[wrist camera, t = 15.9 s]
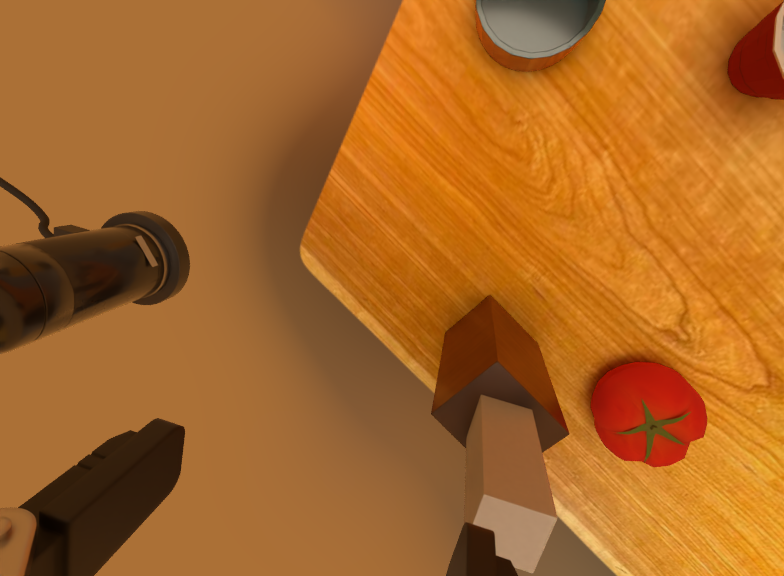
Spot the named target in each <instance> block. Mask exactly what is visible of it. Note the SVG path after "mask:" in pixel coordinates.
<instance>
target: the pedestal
mask: <svg viewBox="0 0 784 576" xmlns="http://www.w3.org/2000/svg"><path fill="white" fill-rule="evenodd" d="M481 395H485V396H488V397H491V398H495V399H498V400H501V401H505V402H508V403H511V404H514V405H518V406H521V407H524V408H528V409H531V410H532V411H533V416H534V420H535V424H536V428H537V433H538V437H539V441H540V446H541V450H542V453H543V452H544V451H546V450H547V449H548V448H550V447H551V446H553V445H554V444H556V443H557V442H559V441H560V440H562V439H563V438H565V437H566V436H567V435H569V431H568V428H567V426H566V423H565V420H564V417H563V414H562V411H561V408H560V406H559V403H558V400H557V397H556V394H555V391H554V388H553V385H552V383H551V380H550V377H549V374H548V371H547V368H546V365H545V363H544V360H543V357H542V354H541V351H540V348H539V345H538V343H537V342H536V341H535V340H534V339H533V338H532V337H531V336H530V335H529V334H528V333H527V332H526V331H525V330H524V329H523V328H522V327H521V326H520V325H519V324H518V323H517V322H516V321H515V320H514V319H513V318H512V317H511V316H510V314H509V313H508V312H507V311H506V310H505V309H504V308H503V307H502V306H501V305H500V304H499V303H498V302H497V301H496V300H495V299H494V298H493V297H492V296H491V295H489V296H488V297H486V298H485V299H484V300H483V301H482V302H481V303H479V304H478V305H477V306H476V307H475V308H474V309H472V310H471V311H470V312H469V313H468V314H467V315H466V316H464V317H463V318H462V319H461V320H460V321H459V322H457V323H456V324H455V325H454V326H453V327H452V328H450V329H449V330H448V331H447V332H446V333H445V337H444V343H443V349H442V355H441V360H440V366H439V372H438V377H437V383H436V389H435V395H434V401H433V406H432V413H431V414H432V415H433V416H434V417H435V418H436V419H437V420H438V421H439V422H440V423H441V424H442V425H443V426H444V427H445V428H446V429H447V430H448V431H449V432H450V433H451V434H452V435H453V436H454V437H455V438H456V439H457V440H458V441H459V442H460V443H461V444H462V445H463V446H464V447H465V448H466V439H467V434H468V431H469V428H470V425H471V422H472V419H473V416H474V414H475V411H476V408H477V405H478V402H479V399H480V396H481Z"/></svg>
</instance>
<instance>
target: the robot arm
mask: <svg viewBox="0 0 784 576" xmlns="http://www.w3.org/2000/svg"><path fill="white" fill-rule="evenodd" d="M0 186H1V187H2V188H4V189H5V190H7V191H8V192H10V193H11V194H12V195H14V196H15V197H17V198H18V199H19V200H21V201H22V202H23V203H25V204H26V205H27V206H28V207H29V208H30V209H31V210H32V211H33V212H34V213H35V214H36V215H37V216H38V218H39V219H40V223H39V228H38V229H39V231H40V233H41V234H42V235H43V236H44V237H45V239H40V240H34V241H28V242H23V243H17V244H12V245H6V246H0V354H3V353H6V352H9V351H12V350H15V349H17V348H20V347H22V346H25V345H27V344H30V343H32V342H35V341H37V340H40V339H42V338H45V337H47V336H49V335H52V334H55V333H57V332H59V331H61V330H64V329H66V328H69V327H71V326H74V325H76V324H79V323H81V322H84V321H86V320H89V319H91V318H93V317H96V316H99V315H101V314H104V313H106V312H109V311H111V310H113V309H116V308H118V307H121V306H123V305H126V304H128V303H131V302H133V301H136V300H138V299H141V298H145V297H148V296H150V295H153V294H155V293H157V292H159V291H160V290H161V289H162V288H163V287H164V286H165V284H166V283H167V281H168V278H169V275H170V259H169V255H168V252H167V250H166V248H165V246H164V244H163V242H162V241H161V240H160V238H159V237H158V236H157V235H156V234H155V233H154V232H152V231H151V230H149V229H148V228H146V227H144V226H142V225H139V224H133V223H127V224H121V225H116V226H113V227H109V228H103V229H96V230H91V231H90V230H87V229H84V228H80V227H76V226H73V225H67V226H60V227H55V228H54V234H52V233H51V232H50V231H49V229H48V225H49V218H48V216H47V215H46V214H45V212H44V211H43V210H42V209H41V208H40V207H39V206H38V205H37V204H36V203H34V201H32V200H31V199H30V198H29V197H27V196H26V195H25V194H24V193H22V192H21V191H19V190H18V189H17V188H15V187H14V186H12V185H11V184H9V183H8V182H6V181H5V180H3V179H2V178H0ZM184 437H185V429H184V427H183V426H180V425H177V424H174V423H171V422H168V421H165V420H162V419H159V418H157V419H154V420H153V421H151V422H150V423H149V424H147V425H146V426H145V427H144V428H142V429H141V430H140V431H139V432H134V431H131V430H130V431H128V432H126V433H123V434H121V435H118V436H115V437H113V438H111V439H109V440H107V441H106V442H105V443H103V444H102V445H101V446H99V447H98V448H97V449H95V450H94V451H93V452H92V454H91V455H88V456H86V457H85V458H84V459H82V460H81V461H79V463H78V464H77V465H76V466H73V467H72V468H70V469H69V470H68V471H66V472H65V473H64V474H62V475H61V476H60V477H58V478H57V479H56V480H54V481H53V482H52V483H50V484H49V485H48V486H46V487H45V488H44V489H42V490H41V491H40V492H39V493H37V494H36V495H35V496H33V497H32V498H31V499H29V500H28V501H27V502H25V503H24V504H22V505H21V506H20V507H18V508H1V509H0V576H94V575H95V574H96V573H97V572H98V571H99V570H100V568H101V567H102V566H103V565H104V564H105V563H106V562H107V561H108V560H109V559H110V558H111V556H113V554H114V553H115V552H116V551H117V550H118V549H119V548H120V547H121V546H122V545H123V543H125V541H126V540H127V539H128V538H129V537H130V536H131V535H132V534H133V533H134V532H135V531H136V530H137V528H138V527H139V526H140V525H141V524H142V523H143V522H144V521H145V520H146V519H147V518H148V517H149V515H150V514H151V513H152V512H153V511H154V510H155V509H156V508H157V507H158V506H159V504H161V502H162V501H163V500H164V499H165V498H166V497H167V496H168V495H169V494H170V492H171V491H172V490H173V488H174V486H175V485H176V483H177V480H178V478H179V475H180V471H181V464H182V455H183V445H184ZM446 576H518V575H517V573H516V571H515V568H514V566H513V564H512V562H511V560H508V559H505V558H502V557H499V556H496V547H495V534H494V531H492V530H489V529H486V528H483V527H480V526H477V525H474V524H471V523H468V522H465V523H464V525H463V528H462V531H461V533H460V536H459V539H458V542H457V544H456V547H455V550H454V552H453V555H452V558H451V561H450V564H449V567H448V571H447V574H446Z"/></svg>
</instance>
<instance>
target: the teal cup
mask: <svg viewBox="0 0 784 576" xmlns="http://www.w3.org/2000/svg"><path fill="white" fill-rule="evenodd" d="M605 1H606V0H475V11H476V28H477V32H478V35H479V39H480V41H481V43H482V45H483V47H484V49H485V50H486V52H487V53H488V54H489V55H490V56H491V57H492V58H493V59H494V60H495V61H496V62H497V63H499V64H500V65H502V66H504V67H506V68H509V69H512V70H515V71H522V72H530V71H537V70H541V69H544V68H547V67H549V66H552V65H553V64H555V63H557V62H559V61H560V60H562V59H563V58H564V57H565V56H566V55H568V54H569V53H570V52H571V51H572V50H573V49H574V48H575V47H576V46H577V45H578V44H579V43H580V41H581V40H582V39H583V38H584V37H585V36H586V35H587V33H588V32H589V31H590V29H591V28H592V26H593V25H594V23H595V22H596V20H597V19H598V17H599V16H600V14H601V12H602V10H603V7H604V4H605Z"/></svg>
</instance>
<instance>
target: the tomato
mask: <svg viewBox="0 0 784 576" xmlns="http://www.w3.org/2000/svg"><path fill="white" fill-rule="evenodd" d="M591 410H592V413H593V416H594V425H595V428H596V431H597V433H598V435H599V437H600V439H601V441H602V442H603V444H604V445H605V446H606V448H608V449H609V450H610V451H611V452H612V453H614V454H615V455H616V456H617V457H619V458H621V459H622V460H624V461H642V462H644V463H646V464H648V465H650V466H652V467H661V466H668V465H672V464H674V463H676V462H678V461H680V460H682V459H684V458H685V455H686V452H687V449H688V447H689V444H690V442H691V441H694V440H697V439H700V438H702V437H704V433H705V430H706V426H707V414H706V409H705V404H704V401H703V400H702V398H701V396H700V395H699V394H698V393H697V392H696V391H695V390H694V389H693V387H692V386H691V385H690V384H689V383H688V382H687V381H686V380H685V379H684V378H683V377H682V376H681V375H680V374H679V373H678V372H677V371H675V370H673V369H671V368H669V367H666V366H663V365H661V364H658V363H650V362H633V363H629V364H624V365H621V366H619V367H617V368H614V369H612V370H610V371H608V372H607V373H606V374H605V375H604V376H603V377H602V378H601V379H600V380H599V381H598V383H597V385H596V387H595V390H594V392H593V394H592V399H591Z"/></svg>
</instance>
